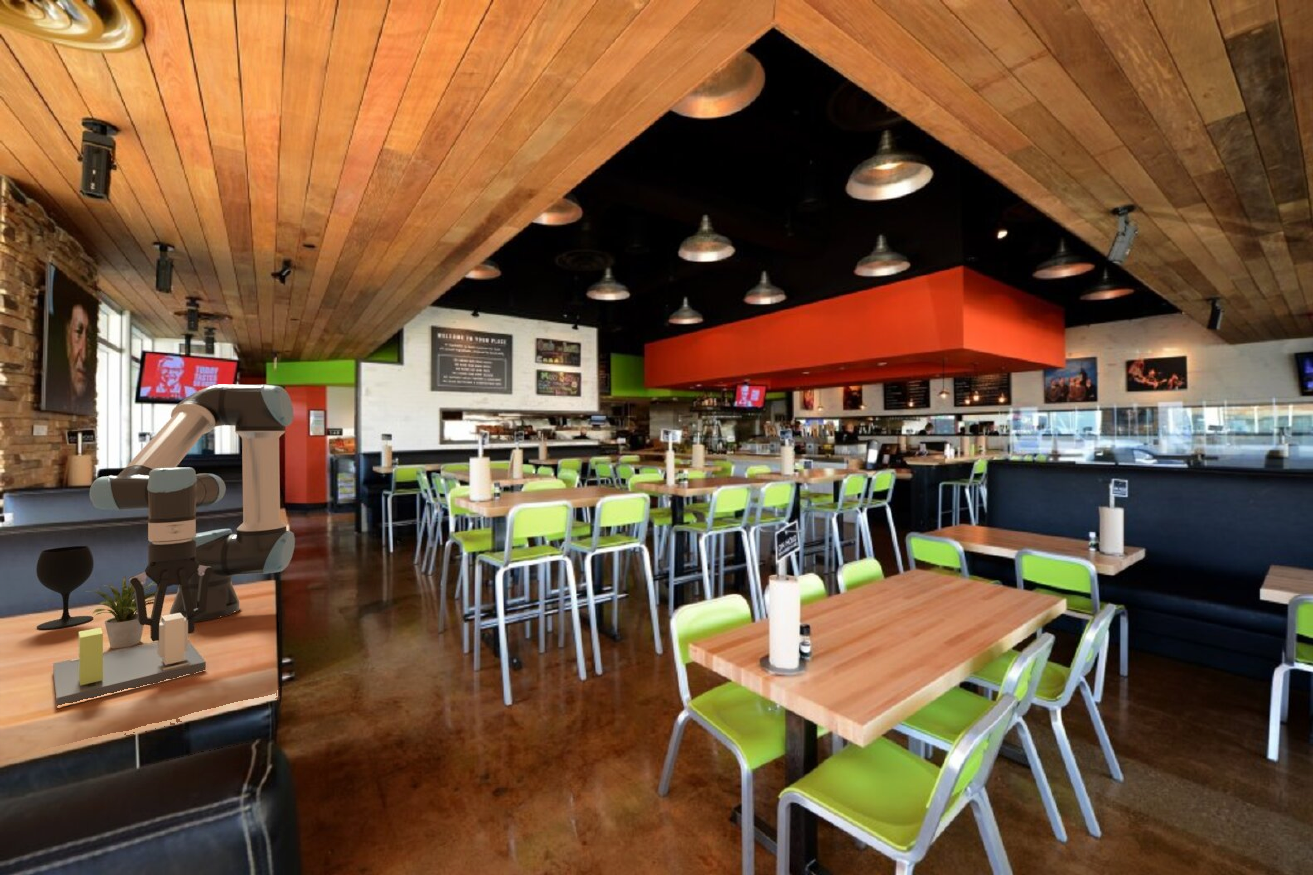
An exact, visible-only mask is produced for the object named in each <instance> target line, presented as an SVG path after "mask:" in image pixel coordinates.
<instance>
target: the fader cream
mask: <svg viewBox="0 0 1313 875" xmlns="http://www.w3.org/2000/svg"><path fill="white" fill-rule="evenodd" d="M160 622H163V624H164V656H163V657H161V659H162V660H163V662H164V664H165V665H167V664H172V663H176V662H180V661H184V616H183V615H182V614H181V613H175V614H170V615H169V614H165V615H161V618H160Z"/></svg>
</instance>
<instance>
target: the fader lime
mask: <svg viewBox="0 0 1313 875" xmlns="http://www.w3.org/2000/svg"><path fill="white" fill-rule="evenodd" d="M103 653H104V633H103V630H102V628H101V627H95V628H93V629H91V628H90V629H86V630H81V631H78V658H79V682H80V685H85V684H89V683H93V682H97V681H101V680H103Z"/></svg>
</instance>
